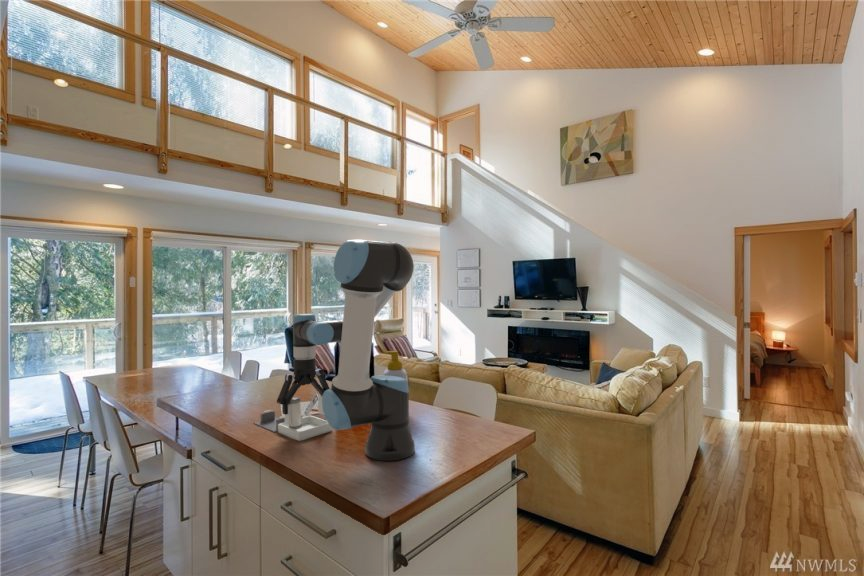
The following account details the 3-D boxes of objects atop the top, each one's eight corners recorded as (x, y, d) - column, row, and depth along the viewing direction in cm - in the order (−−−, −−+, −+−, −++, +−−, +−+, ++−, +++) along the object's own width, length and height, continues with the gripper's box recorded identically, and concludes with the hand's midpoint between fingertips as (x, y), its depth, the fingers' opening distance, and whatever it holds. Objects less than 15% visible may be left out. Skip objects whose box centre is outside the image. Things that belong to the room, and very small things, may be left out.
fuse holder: (297, 426, 156) (297, 414, 156) (274, 433, 150) (274, 420, 150) (276, 418, 166) (275, 407, 166) (253, 424, 159) (253, 412, 159)
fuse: (304, 426, 148) (302, 398, 147) (293, 430, 145) (291, 401, 144) (297, 424, 151) (296, 396, 150) (286, 428, 147) (285, 399, 147)
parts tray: (332, 430, 151) (332, 422, 151) (299, 441, 141) (299, 432, 141) (310, 423, 160) (310, 415, 160) (277, 432, 150) (277, 424, 150)
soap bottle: (384, 411, 174) (384, 349, 174) (406, 411, 174) (406, 349, 174) (382, 418, 165) (382, 353, 165) (406, 418, 166) (405, 353, 165)
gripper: (327, 352, 163) (328, 408, 163) (265, 361, 144) (266, 425, 144) (340, 354, 158) (340, 412, 158) (277, 364, 139) (278, 429, 139)
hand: (305, 418), depth 151 cm, fingers open, 13 cm apart
